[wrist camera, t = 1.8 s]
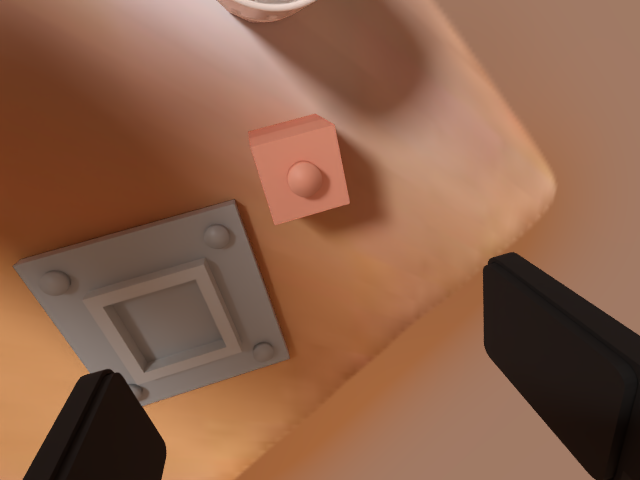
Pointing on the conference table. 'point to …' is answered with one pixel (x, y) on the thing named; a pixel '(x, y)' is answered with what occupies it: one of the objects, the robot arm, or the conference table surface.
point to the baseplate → (162, 302)
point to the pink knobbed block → (299, 167)
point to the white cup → (264, 8)
